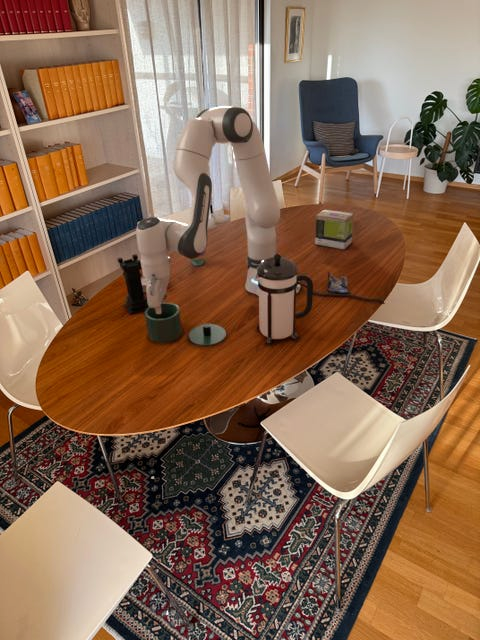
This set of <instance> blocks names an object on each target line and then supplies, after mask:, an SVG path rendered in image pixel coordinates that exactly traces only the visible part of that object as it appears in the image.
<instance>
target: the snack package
mask: <svg viewBox="0 0 480 640" xmlns="http://www.w3.org/2000/svg"><path fill="white" fill-rule="evenodd" d="M327 280H328V281H327V285H326V290H327V292H328V293H329V292H336V294H350V288H348V284H349V281H348V278H347V276H346V275H344V274H341V279H340V278H338V277H335V276H334V275H332V274H331V272H330V271H327Z"/></svg>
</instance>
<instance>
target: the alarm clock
mask: <svg viewBox="0 0 480 640" xmlns="http://www.w3.org/2000/svg"><path fill="white" fill-rule="evenodd" d="M148 281H149V280H148V278H145V277H144V276H143V275H142V277H141V282H142V287H143V293H147V292H146V287H147V284H148ZM168 286H169V282H168V285H167V287H168Z"/></svg>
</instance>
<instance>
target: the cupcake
mask: <svg viewBox="0 0 480 640" xmlns="http://www.w3.org/2000/svg"><path fill="white" fill-rule="evenodd" d="M207 256H208V253H207V250H205V251H204V252H203V253H202V254H201V255H200V256H198V257H197V258H194V259H189V260H190V261H191V263H192V265H193V266H196V267H198V266H199V267H200V266H202V265H203V264H204V261H205V259H206V258H207Z"/></svg>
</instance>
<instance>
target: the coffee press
mask: <svg viewBox="0 0 480 640" xmlns="http://www.w3.org/2000/svg"><path fill="white" fill-rule="evenodd" d="M298 268H299V267H298V266H297V265H296V263H295V262H294V261H293V260H292V259H290V258H288V257H283V256H282V255H281V253H280V254H279V253H278V254H275V255H274V257H272V258H268V259H265V260H264V261H262V262H261V263H260V265H259V267H258V268H257V273H256V276H255V279H254V281H258V287H259V296H258V317H259V319H258V320H259V321H258V323H259V325H258V326H257V327H256V330H258V329H259V332H260V333H261V334H262V335H263V336H264V337H266V342H265V343H266V345H270V346H271V345H272V343H273V340H283V339H286V338H289V337H290V338H292V340H294V341H296V340H297V339H298V338H299V335H298V333H297V332H296V323H297V322H296V321H297V320H298V319H302V318H304V317H306V316H308V315H309V314H310V312H311V310H312V308H313V302H314V301H313V300H314V294H313V291H314V283H313V280H312V278H311V277H309V276H308V275H306V274H299V275H298V273H299V269H298ZM297 281H300V282H305V283H306V285H307V288H306V305H305V308H304V309H303V311H301V312H296V311H297V310H296V309H297V308H296V307H297V306H296V304H297V301H296V300H297V294H296V286H297Z"/></svg>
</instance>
